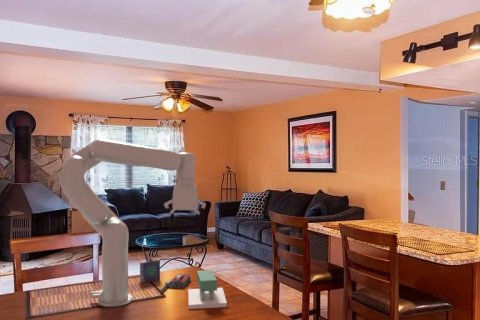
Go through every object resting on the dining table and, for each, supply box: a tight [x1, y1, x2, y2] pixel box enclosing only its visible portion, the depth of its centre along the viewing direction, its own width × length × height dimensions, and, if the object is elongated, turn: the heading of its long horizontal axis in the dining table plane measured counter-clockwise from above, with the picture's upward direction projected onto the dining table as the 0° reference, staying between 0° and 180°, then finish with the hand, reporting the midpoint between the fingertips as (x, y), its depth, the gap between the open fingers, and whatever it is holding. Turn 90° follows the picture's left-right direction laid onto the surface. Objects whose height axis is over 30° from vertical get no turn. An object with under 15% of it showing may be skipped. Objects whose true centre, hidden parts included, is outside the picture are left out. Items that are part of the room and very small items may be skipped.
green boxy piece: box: [196, 269, 218, 292], centre depth 161 cm, size 6×14×4 cm, turn 12°
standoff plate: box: [187, 287, 228, 310], centre depth 161 cm, size 14×18×6 cm
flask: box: [139, 256, 161, 284], centre depth 186 cm, size 9×3×11 cm, turn 122°
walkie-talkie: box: [160, 273, 191, 293], centre depth 178 cm, size 9×4×20 cm
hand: (184, 223), depth 172 cm, fingers open, 9 cm apart
